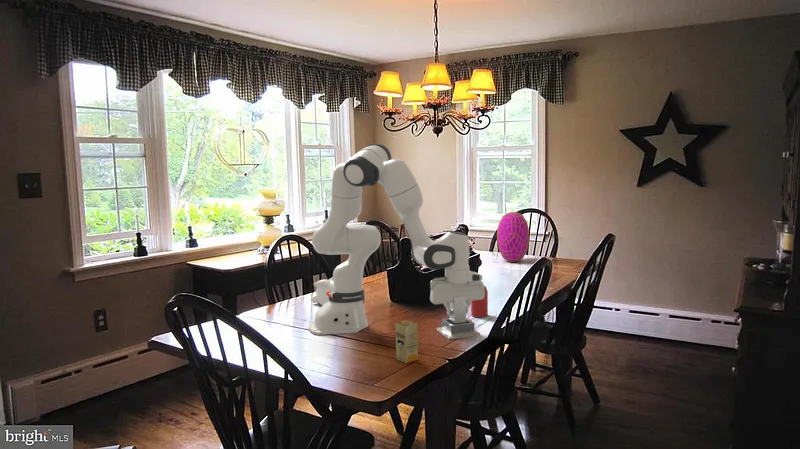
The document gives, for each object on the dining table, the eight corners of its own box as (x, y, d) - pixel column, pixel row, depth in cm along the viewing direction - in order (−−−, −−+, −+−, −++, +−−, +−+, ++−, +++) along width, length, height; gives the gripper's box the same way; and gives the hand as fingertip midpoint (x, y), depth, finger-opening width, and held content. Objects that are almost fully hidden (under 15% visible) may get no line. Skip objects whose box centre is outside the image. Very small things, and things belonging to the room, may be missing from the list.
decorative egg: (527, 258, 350) (527, 210, 347) (530, 264, 331) (531, 213, 328) (496, 258, 353) (496, 210, 349) (497, 264, 334) (497, 214, 330)
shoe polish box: (408, 355, 183) (407, 319, 182) (418, 359, 179) (417, 322, 178) (396, 358, 180) (395, 322, 179) (405, 363, 176) (405, 325, 175)
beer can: (475, 318, 223) (474, 289, 221) (468, 314, 229) (468, 285, 228) (490, 317, 224) (490, 287, 223) (483, 313, 231) (483, 284, 229)
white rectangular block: (454, 330, 202) (453, 297, 201) (449, 326, 207) (448, 294, 205) (466, 328, 203) (465, 296, 202) (460, 324, 208) (460, 293, 207)
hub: (449, 339, 198) (449, 327, 197) (436, 329, 209) (436, 318, 209) (480, 335, 202) (480, 323, 201) (466, 326, 213) (465, 315, 212)
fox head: (319, 282, 261) (294, 289, 243) (348, 271, 255) (326, 277, 236) (328, 310, 260) (304, 318, 241) (358, 299, 253) (336, 308, 235)
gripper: (433, 280, 197) (433, 318, 198) (486, 275, 203) (486, 313, 204) (427, 276, 203) (427, 314, 204) (478, 272, 209) (478, 308, 210)
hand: (457, 313), depth 204 cm, fingers closed on white rectangular block, 5 cm apart
